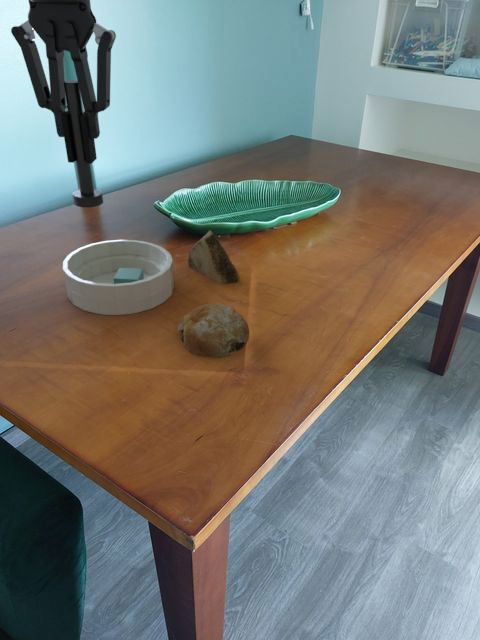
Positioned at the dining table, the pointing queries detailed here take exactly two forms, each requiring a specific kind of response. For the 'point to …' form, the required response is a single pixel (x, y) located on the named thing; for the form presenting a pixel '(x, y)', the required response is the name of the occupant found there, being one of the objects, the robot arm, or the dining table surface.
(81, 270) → the bowl
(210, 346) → the bread roll
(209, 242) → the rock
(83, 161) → the stirrer
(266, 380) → the dining table surface
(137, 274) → the block
